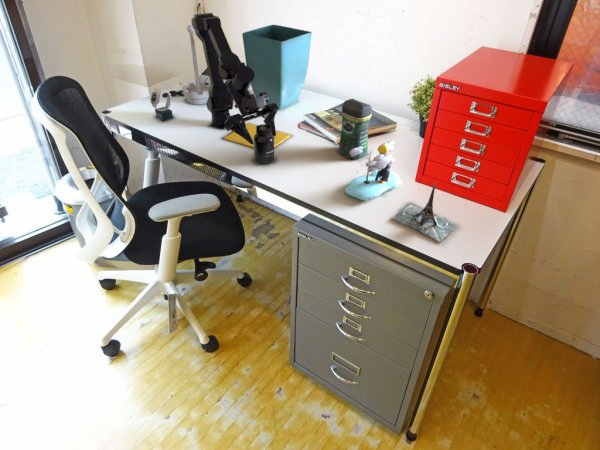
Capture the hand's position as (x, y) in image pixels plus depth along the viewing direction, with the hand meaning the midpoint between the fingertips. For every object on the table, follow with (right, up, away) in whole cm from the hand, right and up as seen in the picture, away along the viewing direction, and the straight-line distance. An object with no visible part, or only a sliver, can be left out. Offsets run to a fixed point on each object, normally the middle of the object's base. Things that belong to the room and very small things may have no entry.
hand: (264, 139), depth 143 cm
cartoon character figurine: (+34, -17, -8) cm, 39 cm away
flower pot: (+2, +25, +46) cm, 52 cm away
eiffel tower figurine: (+46, -27, -21) cm, 58 cm away
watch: (-42, +15, +31) cm, 54 cm away
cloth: (-4, +5, +18) cm, 20 cm away
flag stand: (-32, +26, +47) cm, 62 cm away
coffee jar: (+30, -3, +10) cm, 32 cm away
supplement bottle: (0, -6, +5) cm, 8 cm away
